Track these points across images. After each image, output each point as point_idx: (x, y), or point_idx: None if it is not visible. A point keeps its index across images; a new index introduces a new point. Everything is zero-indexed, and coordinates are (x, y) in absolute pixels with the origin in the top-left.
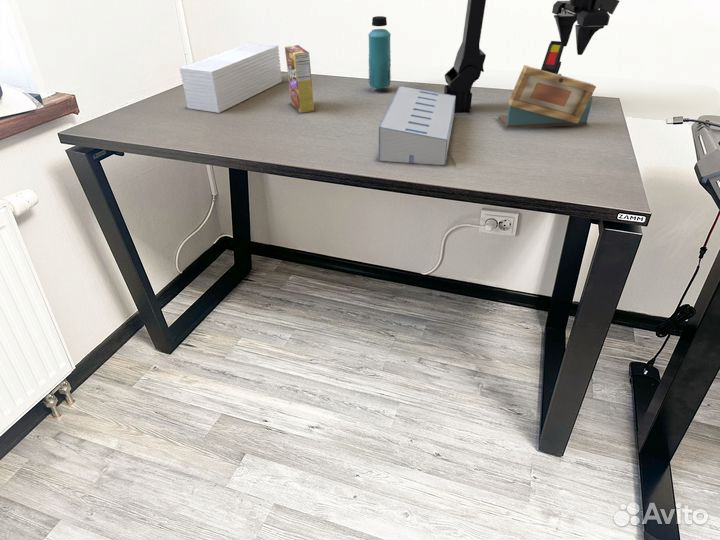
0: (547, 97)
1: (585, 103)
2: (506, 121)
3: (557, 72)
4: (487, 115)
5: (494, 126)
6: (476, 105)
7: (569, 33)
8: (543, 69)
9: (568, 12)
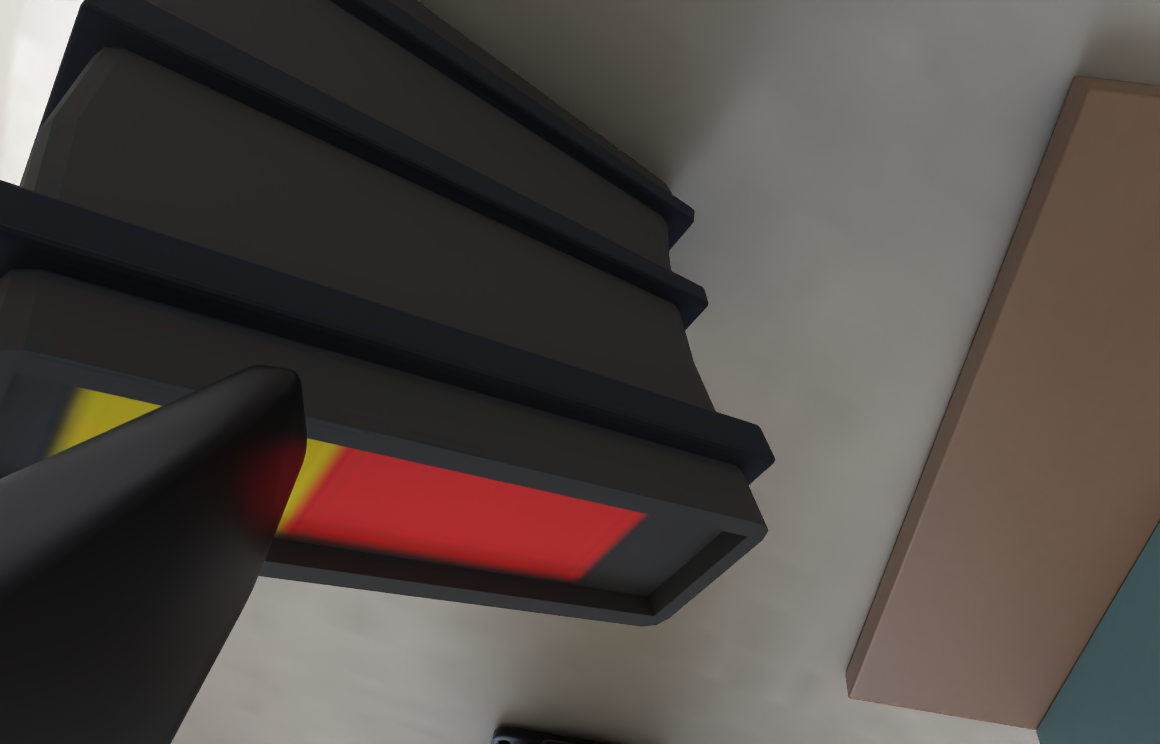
0: None
1: None
2: (984, 706)
3: (419, 170)
4: (726, 686)
5: (956, 736)
6: (493, 658)
7: (94, 581)
8: (662, 592)
9: None
